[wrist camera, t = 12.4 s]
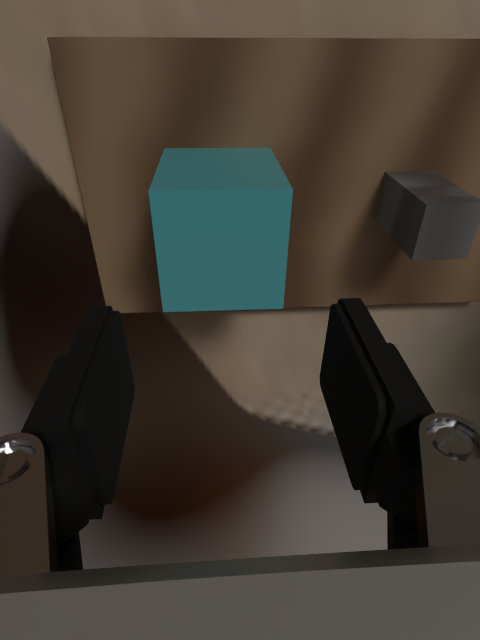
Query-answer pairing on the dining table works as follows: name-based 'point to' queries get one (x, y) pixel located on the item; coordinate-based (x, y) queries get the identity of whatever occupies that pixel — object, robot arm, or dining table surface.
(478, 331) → the dining table surface
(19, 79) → the dining table surface
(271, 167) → the turquoise toy cube
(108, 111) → the flat wooden board
